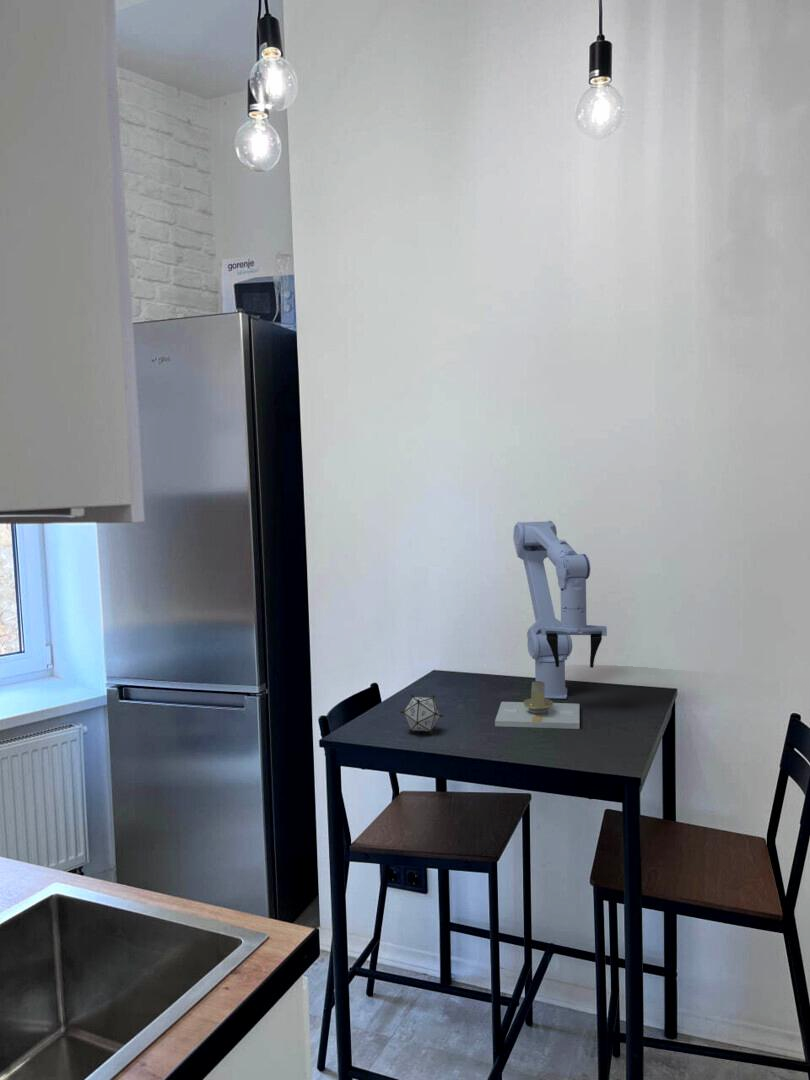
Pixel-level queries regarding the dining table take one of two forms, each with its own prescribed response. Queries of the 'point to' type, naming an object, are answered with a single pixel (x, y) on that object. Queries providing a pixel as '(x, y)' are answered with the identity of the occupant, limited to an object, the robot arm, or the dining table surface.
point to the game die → (421, 714)
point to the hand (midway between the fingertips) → (574, 666)
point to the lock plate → (538, 716)
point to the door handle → (538, 697)
